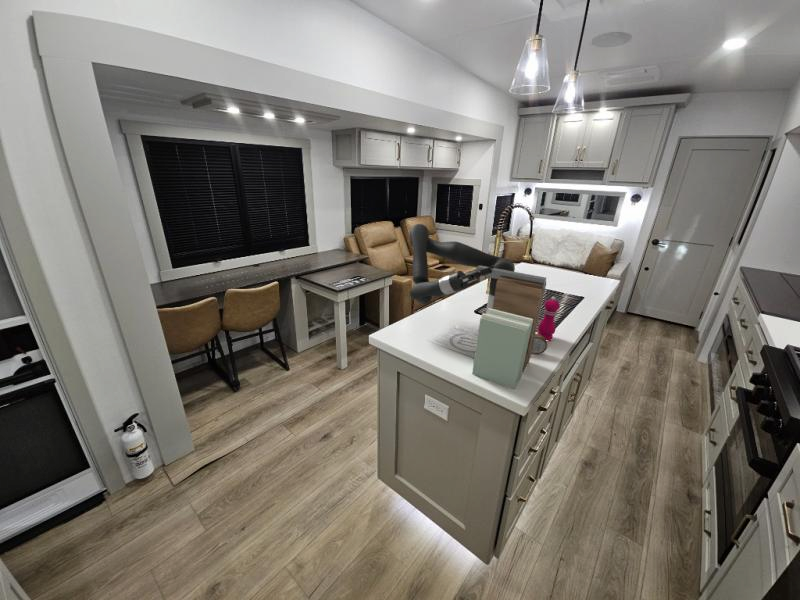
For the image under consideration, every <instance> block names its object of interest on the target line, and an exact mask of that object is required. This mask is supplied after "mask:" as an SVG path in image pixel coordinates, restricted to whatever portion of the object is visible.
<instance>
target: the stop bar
mask: <svg viewBox="0 0 800 600" xmlns="http://www.w3.org/2000/svg"><path fill="white" fill-rule="evenodd" d="M486 268H488V267H486V266H478V267H476V269H477V270H476V269H475V270H476V272H477V271H478V270H480V271H481V270H483V269H486ZM490 268H491V267H490ZM491 270H492V273H490V274H487V275H484V276H483V275H482V277H486V278H490V279H491V278H495V279H498V277H503V278H508V279H513V280H519V281H524V282H529V283H534V284H539V285H543V287H544V286H545V282H546V283H547V277H544V276H540V275H534V274H529V273H523V272H519V271H517V272H516V271H514V272H513V271H507V270H502V269H497V268H491Z"/></svg>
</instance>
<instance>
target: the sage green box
mask: <svg viewBox="0 0 800 600" xmlns="http://www.w3.org/2000/svg"><path fill="white" fill-rule="evenodd" d="M532 323H533V319H531V318H527V317H523V316H519V315H515V314H511V313H507V312H503V311H499V310H495V309H491V308H488V311H487V313H486V312H485V313H482V314H481V317H480V320H479V326H478V334H477V337H476V338H477V339H476V345H475V354H474V359H473V367H472V371H471V374H472V375H473V376H476V377H480V378H482V379H483V380H488V381H491V382H493V383H495V384H498V385H501V386H503V387H506V388H509V389H512V390H515V389H516V388H517V386H518V383H519V382H520V380H521V378H522V375H523V372H522V370H523V366H524V361H525V356H526V352H527V347H528V342H529V338H530V333H531V328H532Z"/></svg>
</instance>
